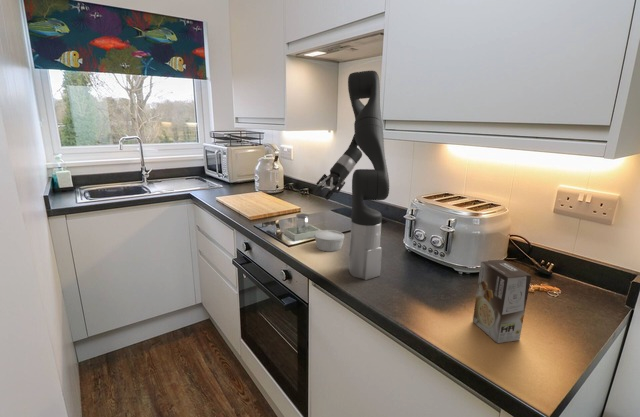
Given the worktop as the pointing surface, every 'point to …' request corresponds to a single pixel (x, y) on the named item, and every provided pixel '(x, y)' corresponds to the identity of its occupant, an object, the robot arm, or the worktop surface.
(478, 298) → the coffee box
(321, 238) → the ramekin
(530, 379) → the worktop surface
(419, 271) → the worktop surface
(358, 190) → the robot arm
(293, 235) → the tray
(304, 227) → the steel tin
